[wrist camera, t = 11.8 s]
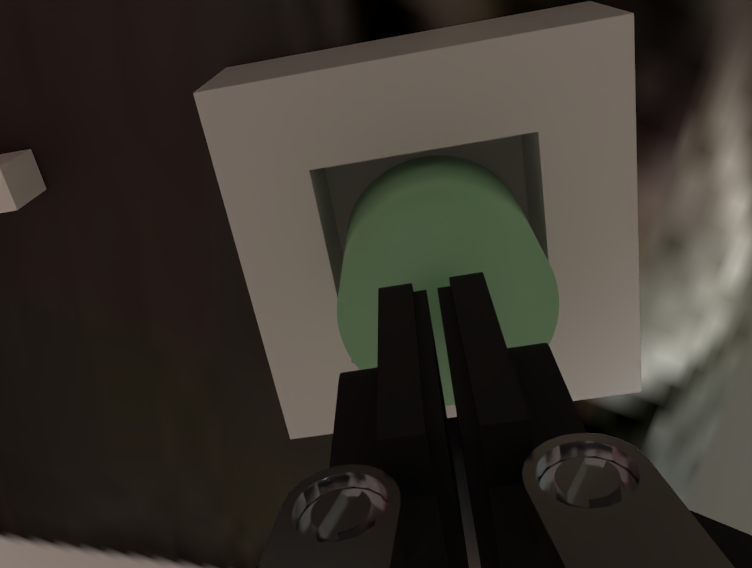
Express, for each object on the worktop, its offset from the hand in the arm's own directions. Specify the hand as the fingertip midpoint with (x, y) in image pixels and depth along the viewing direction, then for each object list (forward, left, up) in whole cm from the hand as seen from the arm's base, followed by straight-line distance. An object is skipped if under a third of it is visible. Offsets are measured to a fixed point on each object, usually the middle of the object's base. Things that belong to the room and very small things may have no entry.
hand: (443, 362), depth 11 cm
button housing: (0, 0, -7) cm, 7 cm away
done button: (0, 0, -4) cm, 4 cm away
